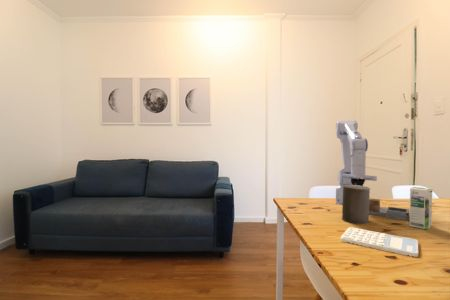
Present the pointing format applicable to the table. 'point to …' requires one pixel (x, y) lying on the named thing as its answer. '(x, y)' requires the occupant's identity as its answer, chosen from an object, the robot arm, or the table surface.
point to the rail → (393, 213)
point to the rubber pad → (383, 208)
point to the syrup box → (420, 207)
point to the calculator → (381, 241)
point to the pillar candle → (355, 204)
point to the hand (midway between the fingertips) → (357, 195)
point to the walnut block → (374, 204)
